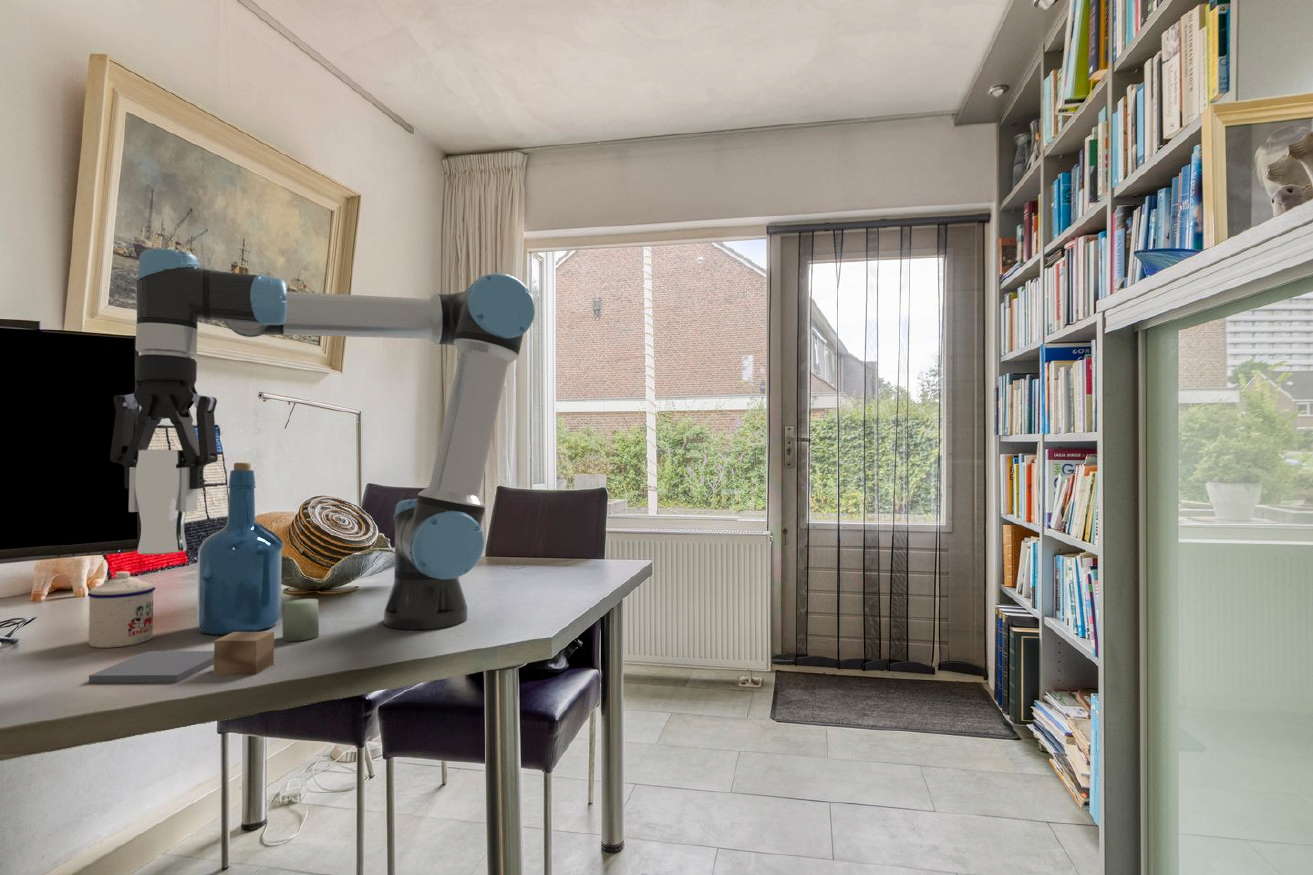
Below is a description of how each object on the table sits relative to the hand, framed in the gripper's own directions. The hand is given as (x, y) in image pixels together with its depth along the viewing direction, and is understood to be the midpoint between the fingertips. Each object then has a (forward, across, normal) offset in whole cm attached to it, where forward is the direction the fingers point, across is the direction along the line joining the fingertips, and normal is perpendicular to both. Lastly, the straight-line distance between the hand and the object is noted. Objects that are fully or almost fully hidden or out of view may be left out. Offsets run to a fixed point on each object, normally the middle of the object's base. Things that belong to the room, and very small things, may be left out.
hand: (163, 511), depth 106 cm
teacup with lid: (+24, +17, -17) cm, 34 cm away
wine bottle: (+24, +2, -25) cm, 34 cm away
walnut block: (+23, -12, 0) cm, 26 cm away
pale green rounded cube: (+23, -12, -18) cm, 32 cm away
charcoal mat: (+23, 0, 0) cm, 23 cm away
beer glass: (+6, 0, 0) cm, 6 cm away
